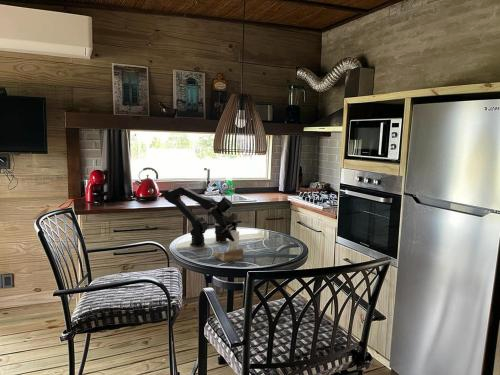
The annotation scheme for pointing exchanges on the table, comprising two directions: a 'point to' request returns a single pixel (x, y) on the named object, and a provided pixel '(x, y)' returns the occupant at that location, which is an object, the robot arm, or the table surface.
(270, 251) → the table surface
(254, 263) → the table surface
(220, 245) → the table surface
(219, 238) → the coffee mug
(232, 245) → the paper roll
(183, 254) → the table surface
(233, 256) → the holder
